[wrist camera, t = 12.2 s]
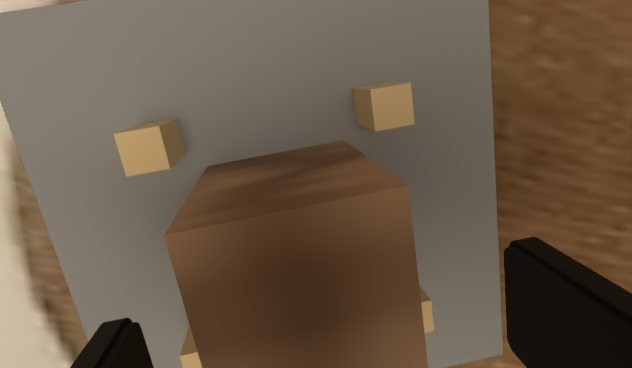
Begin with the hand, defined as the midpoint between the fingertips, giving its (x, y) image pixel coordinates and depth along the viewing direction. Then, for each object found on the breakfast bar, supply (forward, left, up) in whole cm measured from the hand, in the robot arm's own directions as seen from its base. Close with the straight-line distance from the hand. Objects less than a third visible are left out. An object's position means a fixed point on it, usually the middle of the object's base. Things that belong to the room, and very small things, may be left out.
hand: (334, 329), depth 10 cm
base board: (+1, 0, -10) cm, 10 cm away
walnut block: (+1, 0, -9) cm, 9 cm away
